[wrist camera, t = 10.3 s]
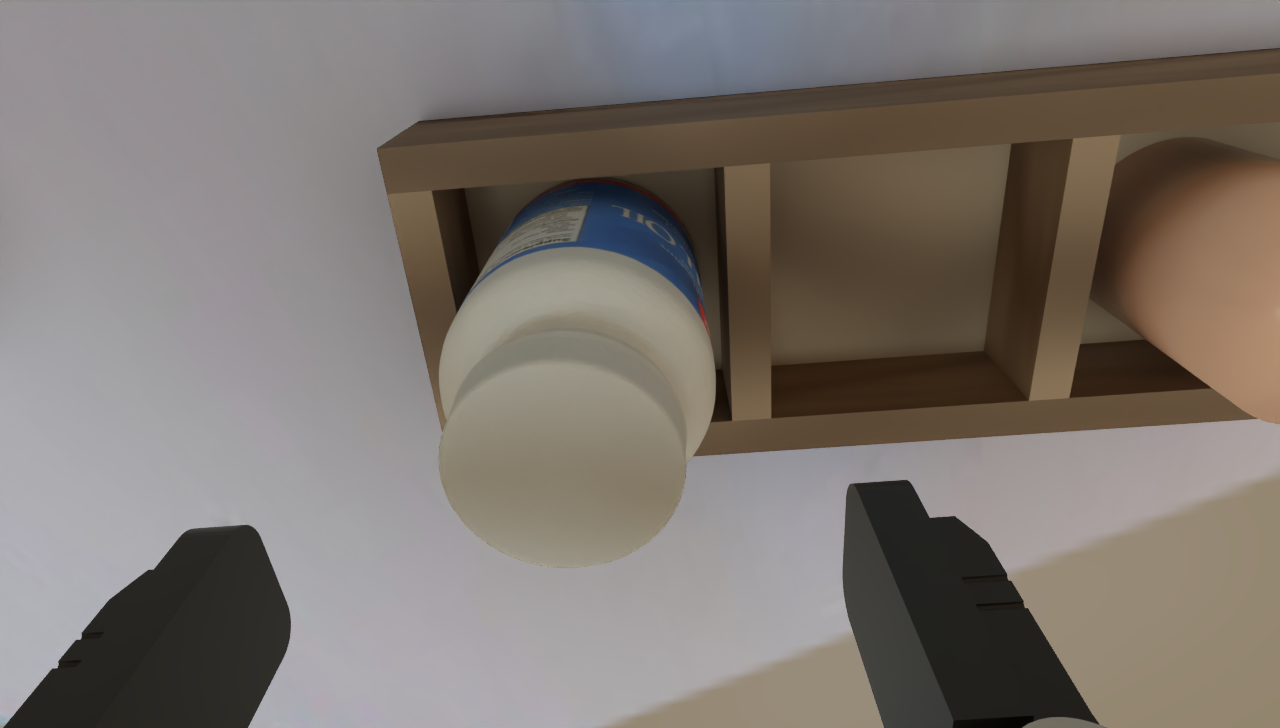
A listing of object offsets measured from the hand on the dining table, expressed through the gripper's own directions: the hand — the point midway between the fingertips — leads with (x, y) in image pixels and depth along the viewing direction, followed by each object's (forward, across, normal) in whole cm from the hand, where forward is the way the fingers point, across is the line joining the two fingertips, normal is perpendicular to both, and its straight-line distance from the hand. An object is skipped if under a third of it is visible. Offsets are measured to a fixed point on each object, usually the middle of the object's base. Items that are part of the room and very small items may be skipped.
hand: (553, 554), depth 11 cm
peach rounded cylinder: (+12, -15, 0) cm, 19 cm away
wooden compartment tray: (+12, -8, 0) cm, 14 cm away
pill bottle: (+12, 0, 0) cm, 12 cm away
